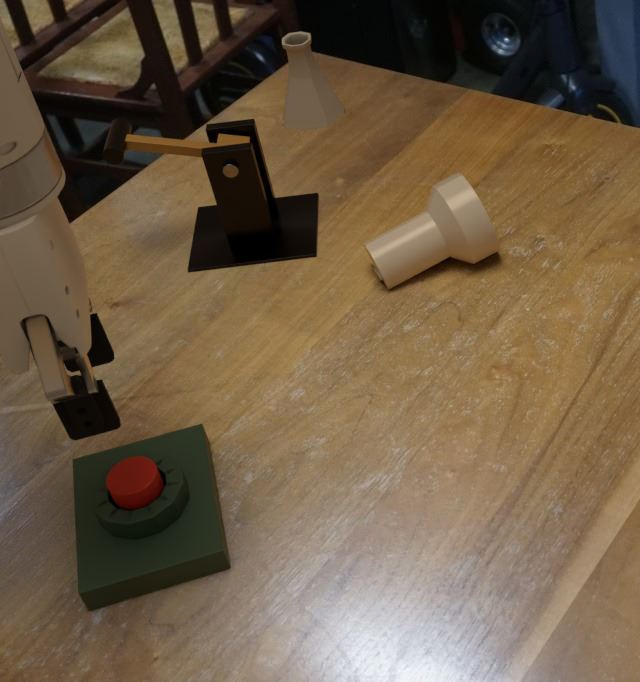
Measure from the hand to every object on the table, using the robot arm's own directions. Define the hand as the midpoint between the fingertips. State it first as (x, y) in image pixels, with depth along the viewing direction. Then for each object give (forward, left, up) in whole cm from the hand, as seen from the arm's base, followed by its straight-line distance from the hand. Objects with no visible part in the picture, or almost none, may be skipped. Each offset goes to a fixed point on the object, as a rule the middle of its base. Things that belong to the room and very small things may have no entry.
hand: (93, 395), depth 73 cm
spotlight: (-8, +34, -14) cm, 38 cm away
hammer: (-27, +20, -4) cm, 34 cm away
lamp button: (0, 0, -10) cm, 10 cm away
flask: (-38, +40, -14) cm, 57 cm away
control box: (0, 0, -14) cm, 14 cm away
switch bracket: (-24, +24, -14) cm, 37 cm away
